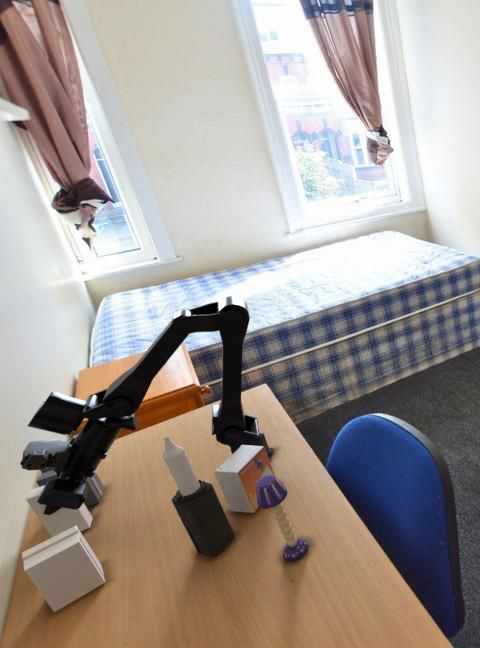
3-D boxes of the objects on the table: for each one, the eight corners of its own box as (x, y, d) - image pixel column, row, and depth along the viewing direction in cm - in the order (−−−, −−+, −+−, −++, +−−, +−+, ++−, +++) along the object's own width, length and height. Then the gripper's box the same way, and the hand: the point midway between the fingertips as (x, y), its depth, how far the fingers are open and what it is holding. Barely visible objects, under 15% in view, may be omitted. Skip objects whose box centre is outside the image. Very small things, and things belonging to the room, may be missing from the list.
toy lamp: (280, 567, 81) (250, 495, 75) (279, 547, 85) (250, 477, 78) (309, 554, 83) (282, 483, 77) (307, 535, 87) (281, 466, 80)
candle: (238, 535, 89) (190, 428, 79) (214, 558, 84) (161, 448, 74) (218, 530, 90) (169, 424, 80) (194, 552, 86) (139, 443, 76)
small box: (253, 514, 93) (236, 473, 89) (230, 511, 94) (212, 471, 90) (279, 484, 100) (264, 445, 96) (257, 482, 101) (241, 443, 97)
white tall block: (93, 518, 96) (68, 477, 92) (90, 528, 94) (64, 486, 89) (58, 531, 94) (30, 489, 89) (54, 541, 91) (25, 499, 87)
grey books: (104, 487, 104) (84, 452, 100) (100, 502, 100) (78, 466, 96) (64, 501, 101) (42, 465, 97) (58, 517, 97) (34, 481, 93)
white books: (101, 564, 85) (76, 525, 81) (106, 582, 82) (80, 541, 78) (50, 593, 81) (21, 552, 77) (53, 612, 77) (23, 571, 73)
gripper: (56, 404, 94) (11, 470, 93) (26, 455, 79) (-28, 534, 78) (121, 421, 100) (79, 483, 100) (104, 471, 85) (55, 544, 85)
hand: (49, 508), depth 90 cm, fingers open, 3 cm apart
